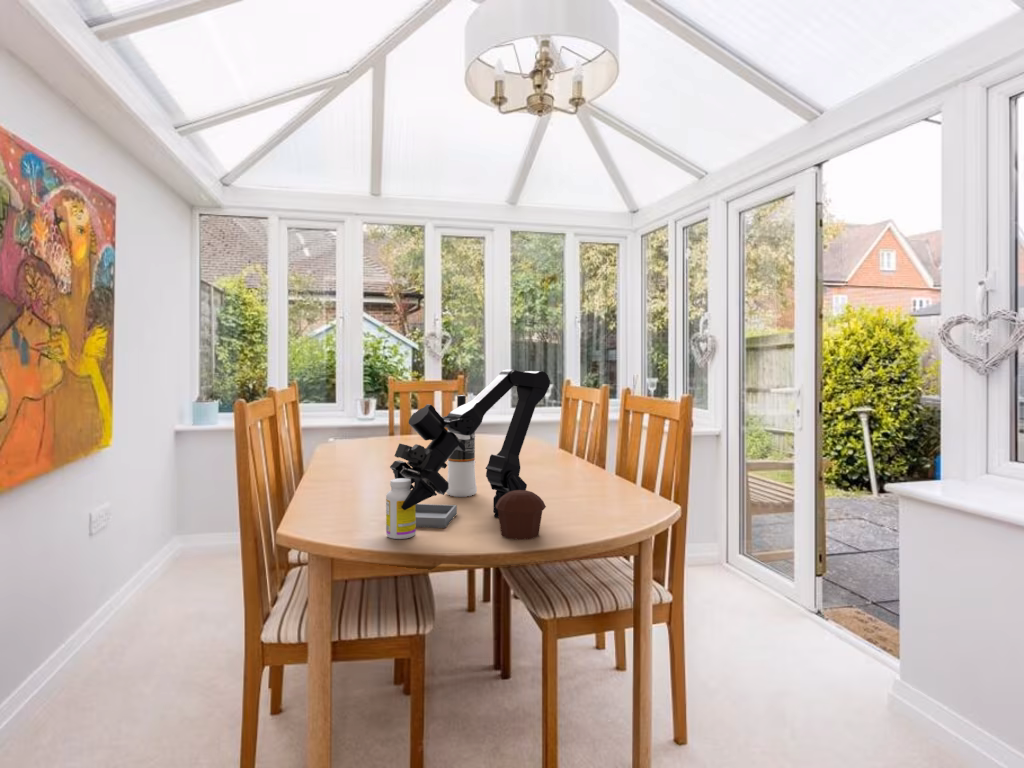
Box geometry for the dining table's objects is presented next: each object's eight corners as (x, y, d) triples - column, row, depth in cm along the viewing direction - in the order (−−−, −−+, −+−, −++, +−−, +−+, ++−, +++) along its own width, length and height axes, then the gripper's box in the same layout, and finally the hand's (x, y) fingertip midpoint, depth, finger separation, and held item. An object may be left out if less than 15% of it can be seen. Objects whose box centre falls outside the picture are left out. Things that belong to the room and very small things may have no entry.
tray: (456, 514, 156) (456, 505, 156) (445, 528, 143) (445, 518, 143) (407, 512, 158) (407, 503, 157) (391, 526, 144) (391, 516, 144)
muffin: (493, 540, 133) (493, 496, 133) (496, 527, 144) (496, 486, 144) (546, 541, 133) (546, 497, 132) (545, 528, 144) (546, 486, 143)
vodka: (458, 489, 186) (458, 393, 185) (482, 493, 181) (483, 394, 180) (439, 495, 178) (439, 395, 177) (464, 499, 173) (464, 396, 172)
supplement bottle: (421, 533, 138) (421, 478, 138) (404, 541, 132) (404, 484, 132) (397, 530, 141) (397, 476, 141) (380, 537, 135) (380, 481, 135)
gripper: (397, 427, 145) (354, 477, 139) (437, 434, 131) (391, 491, 124) (425, 456, 151) (385, 506, 144) (466, 466, 136) (424, 522, 130)
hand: (395, 505), depth 135 cm, fingers closed on supplement bottle, 7 cm apart
